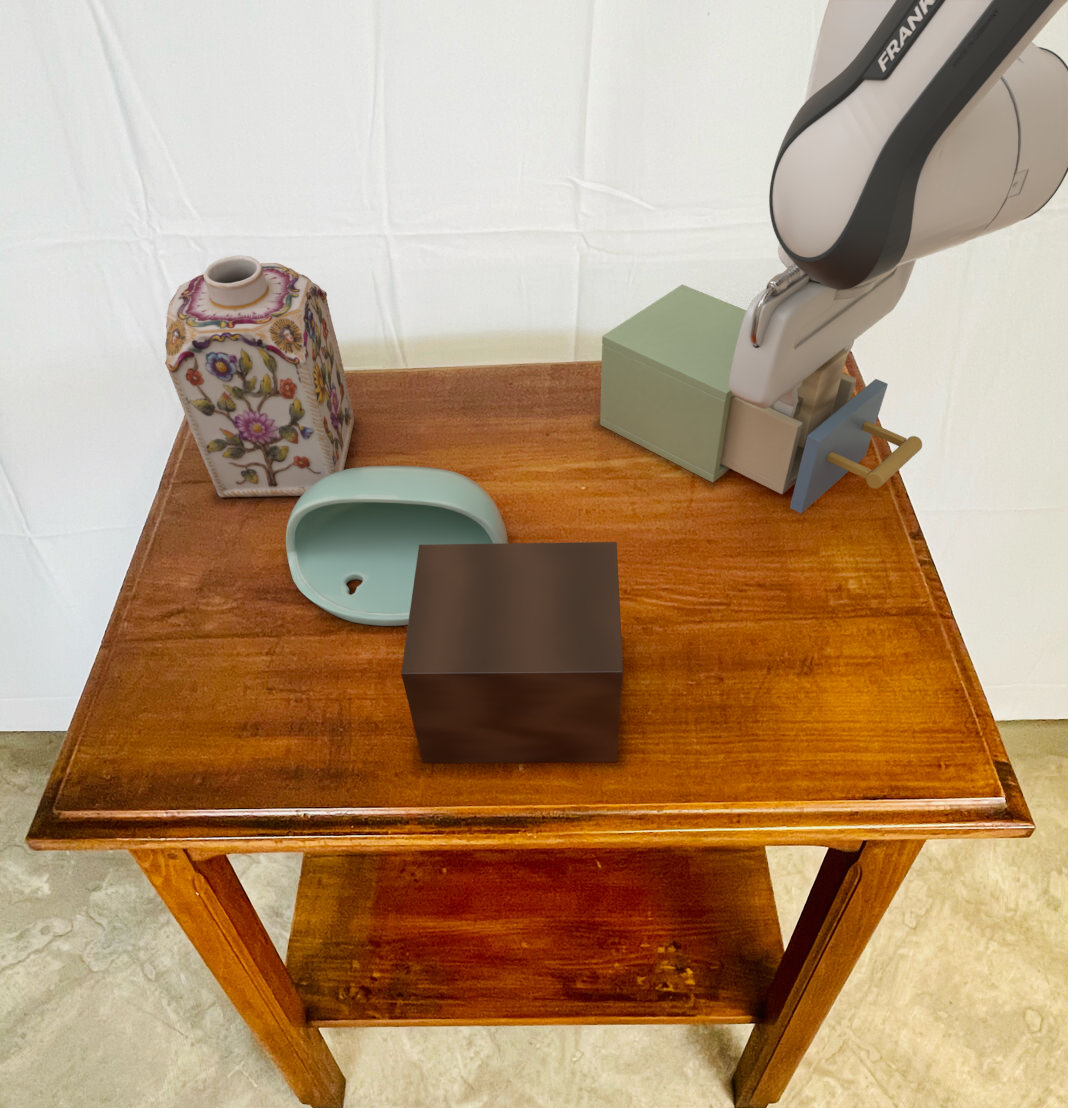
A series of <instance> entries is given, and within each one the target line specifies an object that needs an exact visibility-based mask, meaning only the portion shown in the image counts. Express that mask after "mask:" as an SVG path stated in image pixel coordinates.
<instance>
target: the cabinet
mask: <svg viewBox="0 0 1068 1108" xmlns="http://www.w3.org/2000/svg"><path fill="white" fill-rule="evenodd" d="M746 311H747V309H744V308H741V307H739V306H736V305H734V304H731V303H729V302H726V301H725V300H722V299H720V298H716V297H714V296H712V295H709V294H707V293H704V292H702V291H700V290H697V289H695V288H692V287H690V286H688V285H686V284H681V285H679V286H677V287H675V288H674V289H673V290H671V291H669V292H668V293H666V294H665V295H664V296H662V297H660V298H659V299H657V300H656V301H654V302H653V303H651V304H649V305H648V306H647V307H645V308H644V309H641V310H640V311H639V312H637V313H635V314H634V315H632V316H631V317H630V318H628V319H626V320H624V321H623V322H621V323H620V324H619V325H617V326H616V327H613V328H612V329H611V330H609V331H607V333H605V334H603V335H602V337H601V340H602V342H601V344H602V345H601V375H600V377H601V378H600V408H599V410H600V413H599V414H600V415H599V417H600V418H599V425H600V426H601V427H604V428H606V430H607V429H608V430H609V431H610V432H611V431H612V433H615V434H617V435H619V436H621V437H623V438H625V439H627V440H628V441H630V442H632V443H634V444H637V445H639V446H640V447H642V448H644V449H646V450H648V451H650V452H652V453H654V454H656V455H657V456H660V457H662V458H664V459H665V460H667V461H670V462H672V463H674V464H676V465H678V466H679V467H682V469H685V470H687V471H689V472H691V473H693V474H695V475H696V476H699V477H700V478H702V479H705V480H706V481H709V482H710V483H712V484H713V483H715V482H716V481H717V480H718V479H720V478H721V477H722V476H723V475H724V474H726V473H727V472H729V470H731V469H730V468H728V467H726V466H724V465H722V464H720V462H721V456H722V450H723V443H724V437H725V431H726V424H727V418H728V412H729V405H730V399H731V397H732V396H733V394H732V392H731V390H730V388H729V384H728V383H729V375H730V370H731V365H732V361H733V356H734V352H735V348H736V344H737V340H738V336H739V332H740V328H741V325H742V322H743V319H744V316H745V313H746Z"/></svg>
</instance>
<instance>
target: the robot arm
mask: <svg viewBox="0 0 1068 1108" xmlns="http://www.w3.org/2000/svg"><path fill="white" fill-rule="evenodd" d="M1066 3H1068V0H828V2H827V5H826V8H825V11H824V14H823V18H822V22H821V25H820V29H819V32H818V35H817V40H816V45H815V49H814V53H813V58H812V62H811V67H810V70H809V71H810V72H809V76H808V81H807V85H806V91H805V97H804V103H803V104H802V106H801V107H800V108H799V110H798V111H797V113H796V114H795V116H794V118H793V119H792V122H791V123H790V125H789V126H788V129H787V131H786V133H785V135H784V137H783V139H782V142H781V144H780V147H779V150H778V153H777V155H776V159H775V162H774V165H773V170H772V174H771V179H770V183H769V184H770V185H769V193H768V194H769V196H768V197H769V198H768V203H769V204H768V205H769V206H768V207H769V214H770V221H771V225H772V228H773V232H774V235H775V237H776V239H777V241H778V247H777V255H778V258H779V260H780V262H781V263H782V264H783V266H784V267H785V268H786V269H785V270H784V271H783V272H780V273H778V274H776V275H774V276H773V277H772V278H771V279H770V280H769V281H768V282H767V284H766V288H764V289H763V290H761V291H760V292H759V293H758V294H756V295H755V296H754V298H753V299H752V300H751V302H750V303H749V305H748V307H747V308H746V313H745V316H744V319H743V322H742V325H741V328H740V332H739V336H738V340H737V344H736V348H735V352H734V356H733V361H732V365H731V370H730V375H729V383H728V384H729V388H730V390H731V392H732V394H733V395H734V396H735V397H737V398H739V399H741V400H743V401H745V402H747V403H750V404H752V405H754V406H757V407H759V408H763V409H766V408H768V407H770V406H772V405H773V404H774V407H773V409H774V410H776V411H778V412H780V413H782V414H785V415H787V416H789V417H791V418H793V419H794V418H795V417H796V416H797V415H798V414H799V413H800V410H801V409H800V408H801V406H802V402H803V398H802V397H800V396H798V392H797V389H798V388H799V387H801V385H802V382H803V380H804V379H806V378H807V377H808V376H810V375H811V374H812V373H813V372H815V371H816V370H817V369H818V368H820V367H821V366H822V365H823V364H825V363H826V362H827V361H829V360H830V359H831V358H832V357H834V356H835V355H836V354H837V353H839V352H840V351H841V350H845V351H848V354H847V356H848V355H849V354H850V352H851V350H852V348H853V346H854V343H855V340H857V339H858V338H859V337H860V336H862V335H863V334H865V332H867V331H868V330H870V329H871V328H872V327H873V326H874V325H876V324H877V323H878V322H880V320H882V319H883V318H885V317H886V316H887V315H888V314H890V313H891V312H892V311H893V310H894V309H895V308H896V306H897V305H898V303H899V301H900V300H901V298H902V296H903V295H904V293H905V291H906V289H907V286H908V284H909V281H910V278H911V275H912V273H913V270H914V267H915V266H916V265H915V264H916V262H917V260H919V259H922V258H925V257H928V256H932V255H933V254H936V253H940V252H942V251H946V250H948V249H951V248H954V247H957V246H960V245H963V244H965V243H967V242H969V241H973V240H975V239H979V238H982V237H984V236H986V235H991V234H993V233H995V232H998V231H1001V230H1003V229H1007V228H1008V227H1011V226H1013V225H1014V224H1017V223H1019V222H1021V221H1023V220H1026V219H1028V218H1030V217H1032V216H1034V215H1035V214H1037V213H1038V212H1040V211H1041V209H1043V208H1044V207H1045V206H1046V205H1047V204H1048V203H1049V202H1050V200H1051V199H1052V198H1053V197H1054V196H1055V195H1056V193H1057V191H1058V190H1059V189H1060V187H1061V186H1062V184H1063V182H1064V180H1065V178H1066V176H1067V174H1068V65H1067V63H1066V62H1065V61H1064V60H1063V58H1062V57H1061V56H1060V55H1058V54H1057V53H1056V52H1054V51H1053V50H1050V49H1048V48H1045V47H1041V46H1038V45H1036V44H1035V43H1034V42H1033V41H1034V39H1035V38H1036V37H1037V36H1038V35H1039V34H1040V33H1041V31H1042V30H1043V29H1044V28H1045V27H1046V25H1047V24H1048V23H1049V22H1050V21H1051V19H1052V18H1054V16H1055V15H1056V14H1057V13H1058V12H1059V11H1060V10H1061V8H1062V7H1064V6H1065V4H1066Z"/></svg>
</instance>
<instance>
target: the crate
mask: <svg viewBox="0 0 1068 1108" xmlns="http://www.w3.org/2000/svg"><path fill="white" fill-rule="evenodd" d="M618 558H619V557H618V543H617V541H585V542H584V541H583V542H582V541H581V542H576V541H575V542H574V541H573V542H511V543H510V542H508V543H499V544H425V545H419V549H418V556H417V563H416V571H415V578H414V585H413V592H412V599H411V606H410V614H409V621H408V625H407V628H406V636H405V641H404V642H405V643H404V650H403V656H402V657H403V658H402V665H401V672H400V674H401V678H402V683H403V686H404V691H405V696H406V699H407V703H408V708H409V713H410V716H411V720H412V724H413V728H414V729H413V730H414V732H415V738H416V741H417V745H418V750H419V754H420V758H421V762H422V764H518V763H519V764H520V763H521V764H531V763H532V764H534V763H535V764H544V763H546V764H547V763H548V764H550V763H551V764H555V763H559V764H561V763H563V764H564V763H567V764H569V763H571V764H573V763H574V764H575V763H586V764H587V763H589V764H590V763H618V752H619V751H618V750H619V749H618V748H619V736H620V723H621V722H620V721H621V705H622V692H623V678H624V665H623V664H624V663H623V644H622V641H623V640H622V624H621V623H622V622H621V602H620V601H621V600H620V599H621V598H620V585H619V584H620V582H619V581H620V580H619V579H620V578H619V563H618V562H619V561H618Z"/></svg>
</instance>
